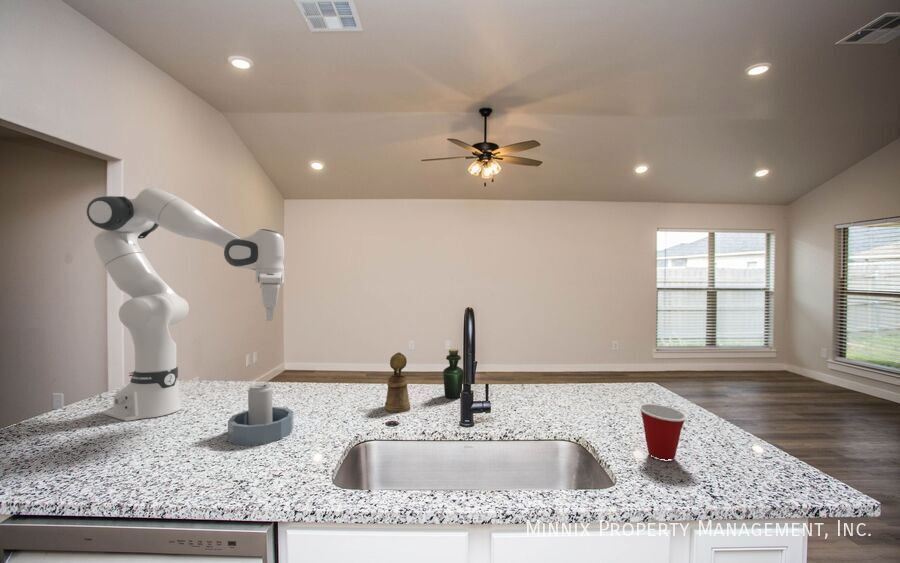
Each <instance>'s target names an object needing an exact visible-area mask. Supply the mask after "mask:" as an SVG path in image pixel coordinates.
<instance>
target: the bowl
mask: <svg viewBox="0 0 900 563" xmlns="http://www.w3.org/2000/svg"><path fill="white" fill-rule="evenodd" d="M293 430H294V411H293V409H292V410H291V409H290V408H288V407H284V406H283V407H280V406H272V422H271V423H267V424H259V425H248V409H246V410H243V411H241V412H239V413H238V412H237V413H236V414H234V415H232V416H231V417H230V418H229V419H228V420H227V440H228V439H229V440H230V441H231V442H232V443H235V444H234V445H237V444H241V445H240V446H244V445H250V446H256V445H255V444H261V445H266V444H265V443H267V444H270V443H269V442H271V443H273V442H272V441H274V442H277V441H276V440H278V441H280V440H279V439H281V440H283V439H284V438H283V437H285V436H286V437H288V436H290V435H291V434H292V433H293ZM290 433H291V434H290ZM289 434H290V435H289ZM287 435H288V436H287ZM286 437H285V438H286ZM282 438H283V439H282ZM229 440H228V441H229ZM230 441H229V442H230ZM231 442H230V443H231ZM232 443H231V444H232Z"/></svg>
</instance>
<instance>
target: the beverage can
mask: <svg viewBox="0 0 900 563" xmlns="http://www.w3.org/2000/svg"><path fill="white" fill-rule="evenodd" d="M247 397H248V398H247V401H248V403H247V404H248V408H247V410H248V425H259V424H267V423H271V422H272V407H273V387H272V384H271V383H269V382H267V383H266V382H265V383H264V382H263V383H262V382H261V383H255V384H251V385H250V386H249V389H248V392H247Z"/></svg>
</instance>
